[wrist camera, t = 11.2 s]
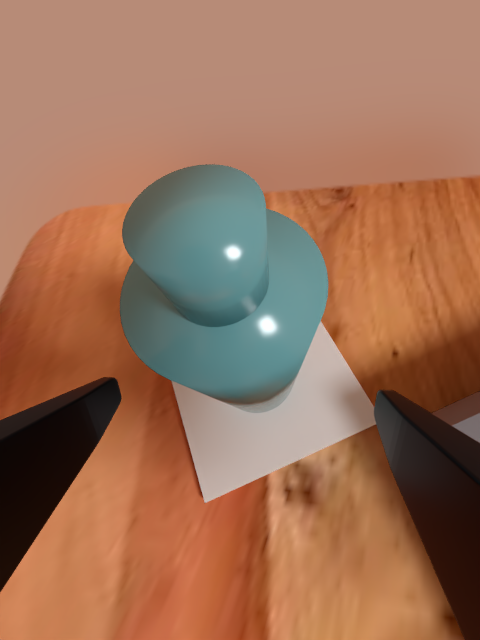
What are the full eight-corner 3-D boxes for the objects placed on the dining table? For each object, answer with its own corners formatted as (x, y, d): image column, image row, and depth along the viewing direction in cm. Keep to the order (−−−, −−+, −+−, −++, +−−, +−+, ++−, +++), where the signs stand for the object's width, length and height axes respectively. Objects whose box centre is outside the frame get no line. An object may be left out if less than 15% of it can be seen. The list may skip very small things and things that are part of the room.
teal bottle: (265, 430, 14) (211, 461, 2) (203, 381, 16) (-5, 257, 4) (309, 362, 15) (415, 163, 4) (247, 323, 17) (182, 101, 5)
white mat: (206, 500, 14) (204, 503, 13) (161, 335, 18) (158, 333, 18) (380, 421, 14) (383, 421, 14) (292, 278, 19) (292, 276, 18)
